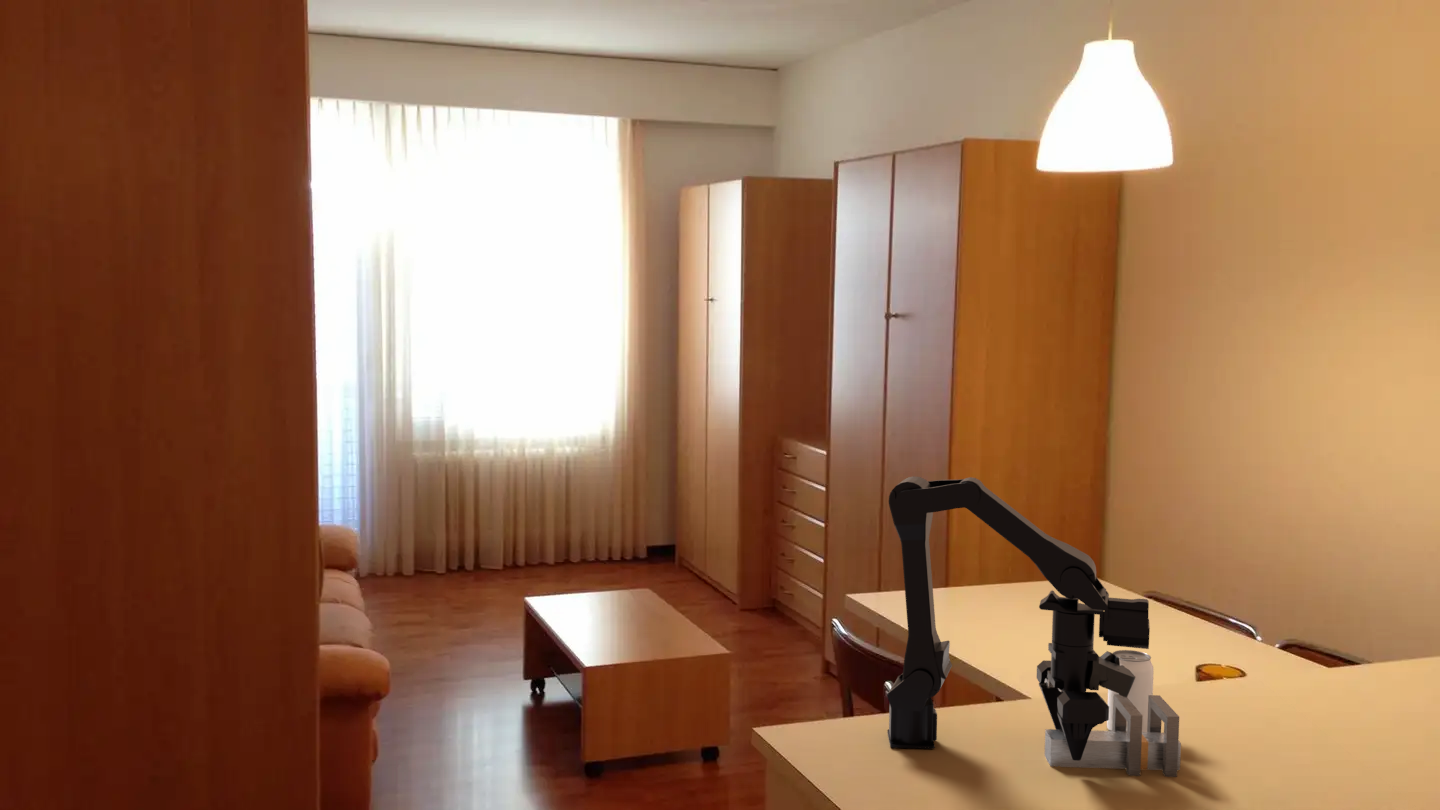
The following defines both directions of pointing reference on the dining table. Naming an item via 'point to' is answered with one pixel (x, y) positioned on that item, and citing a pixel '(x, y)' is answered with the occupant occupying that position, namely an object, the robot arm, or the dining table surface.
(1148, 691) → the can
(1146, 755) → the grey banded block
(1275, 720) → the dining table surface
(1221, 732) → the dining table surface
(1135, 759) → the collar
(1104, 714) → the robot arm
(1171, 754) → the collar
